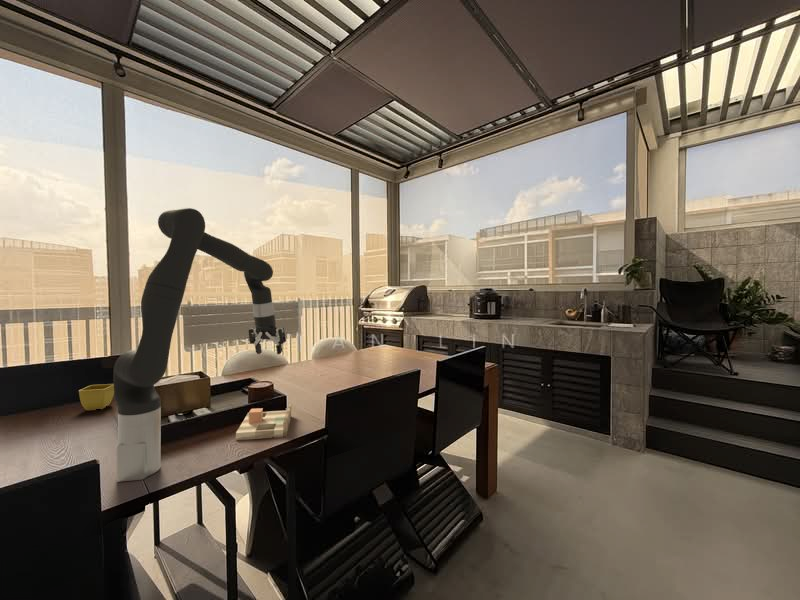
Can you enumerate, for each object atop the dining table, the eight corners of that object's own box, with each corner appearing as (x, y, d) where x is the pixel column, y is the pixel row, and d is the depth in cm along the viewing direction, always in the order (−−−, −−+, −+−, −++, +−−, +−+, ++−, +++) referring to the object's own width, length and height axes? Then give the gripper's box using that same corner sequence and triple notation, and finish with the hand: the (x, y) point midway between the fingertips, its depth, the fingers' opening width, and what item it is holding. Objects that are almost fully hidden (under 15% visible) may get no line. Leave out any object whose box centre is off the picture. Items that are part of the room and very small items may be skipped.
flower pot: (90, 405, 141) (90, 384, 141) (115, 404, 144) (115, 383, 144) (78, 413, 133) (78, 390, 132) (104, 411, 135) (104, 389, 135)
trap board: (286, 436, 115) (286, 422, 115) (235, 440, 112) (236, 425, 111) (291, 416, 134) (291, 404, 134) (248, 419, 130) (248, 406, 130)
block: (260, 422, 120) (260, 411, 120) (248, 423, 119) (248, 412, 119) (262, 418, 124) (262, 408, 124) (251, 419, 123) (251, 408, 123)
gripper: (241, 316, 127) (247, 356, 130) (276, 316, 124) (281, 357, 128) (252, 311, 134) (258, 350, 137) (285, 311, 132) (290, 350, 135)
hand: (269, 353), depth 132 cm, fingers open, 8 cm apart
